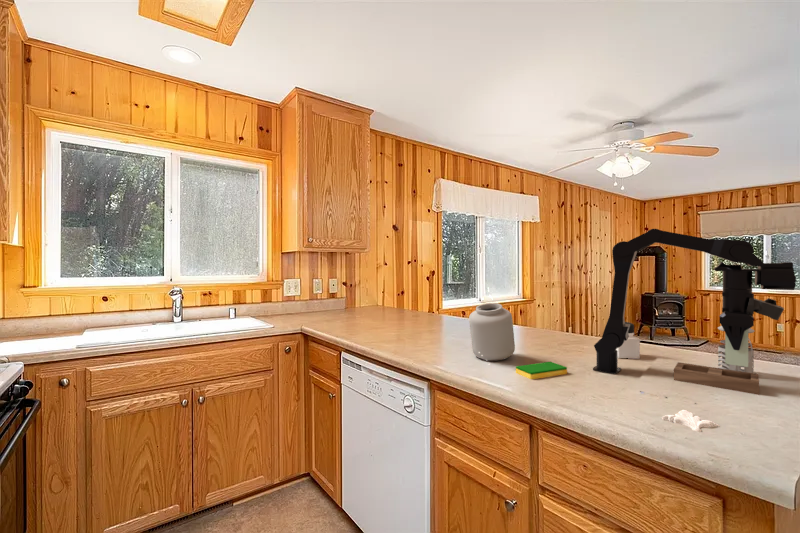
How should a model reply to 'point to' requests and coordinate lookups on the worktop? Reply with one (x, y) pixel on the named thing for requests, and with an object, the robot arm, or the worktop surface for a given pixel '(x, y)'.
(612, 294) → the robot arm
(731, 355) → the green block
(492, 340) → the jar
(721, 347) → the french press
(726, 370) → the pocket holder
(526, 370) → the dish sponge
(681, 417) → the acanthus leaf ornament
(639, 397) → the worktop surface
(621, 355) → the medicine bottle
